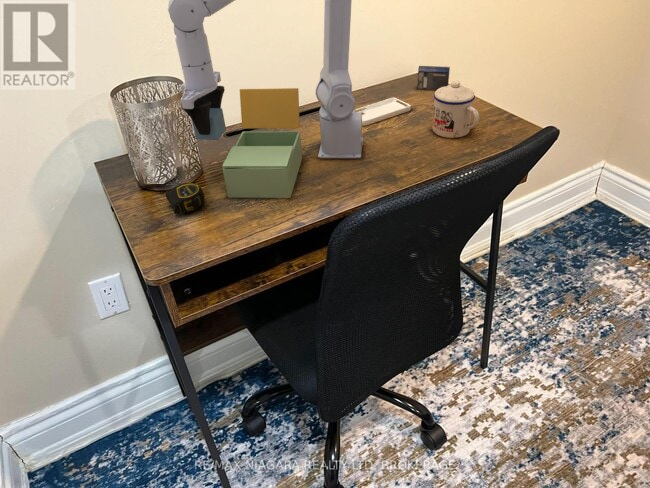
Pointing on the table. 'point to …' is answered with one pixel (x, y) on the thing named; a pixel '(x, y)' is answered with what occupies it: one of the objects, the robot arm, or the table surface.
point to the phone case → (382, 110)
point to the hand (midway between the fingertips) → (210, 128)
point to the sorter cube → (213, 125)
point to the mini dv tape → (432, 77)
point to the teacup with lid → (454, 111)
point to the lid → (270, 108)
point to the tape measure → (185, 197)
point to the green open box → (263, 164)
